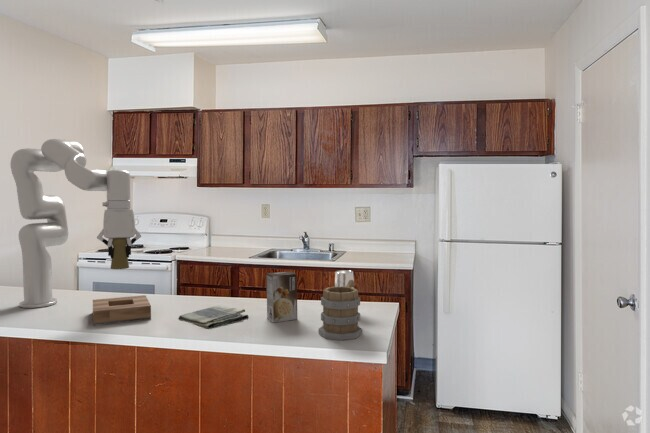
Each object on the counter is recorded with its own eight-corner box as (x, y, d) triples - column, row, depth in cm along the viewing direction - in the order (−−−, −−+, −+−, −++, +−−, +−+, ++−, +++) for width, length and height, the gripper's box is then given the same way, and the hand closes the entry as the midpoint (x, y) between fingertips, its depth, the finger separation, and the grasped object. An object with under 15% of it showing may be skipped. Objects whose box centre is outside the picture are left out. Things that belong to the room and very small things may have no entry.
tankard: (352, 342, 141) (353, 292, 140) (313, 337, 145) (313, 288, 145) (372, 324, 159) (373, 280, 158) (337, 320, 164) (337, 277, 163)
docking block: (93, 312, 173) (92, 299, 172) (145, 307, 181) (145, 295, 180) (93, 325, 157) (92, 311, 156) (151, 319, 164) (150, 305, 164)
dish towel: (176, 320, 165) (176, 311, 165) (219, 310, 179) (219, 302, 179) (208, 330, 153) (208, 320, 153) (251, 319, 167) (251, 310, 167)
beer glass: (356, 311, 177) (356, 270, 176) (349, 315, 170) (349, 273, 170) (339, 309, 180) (339, 269, 179) (331, 313, 173) (331, 272, 173)
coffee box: (290, 315, 170) (290, 270, 169) (297, 319, 165) (297, 273, 164) (266, 318, 166) (266, 272, 165) (272, 323, 160) (272, 275, 160)
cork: (122, 269, 164) (121, 237, 163) (106, 268, 165) (106, 237, 165) (132, 266, 170) (132, 236, 169) (117, 266, 171) (117, 235, 171)
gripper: (91, 206, 159) (93, 260, 160) (145, 205, 167) (146, 257, 168) (91, 205, 166) (93, 257, 167) (143, 205, 173) (144, 254, 175)
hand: (119, 256), depth 167 cm, fingers closed on cork, 4 cm apart
